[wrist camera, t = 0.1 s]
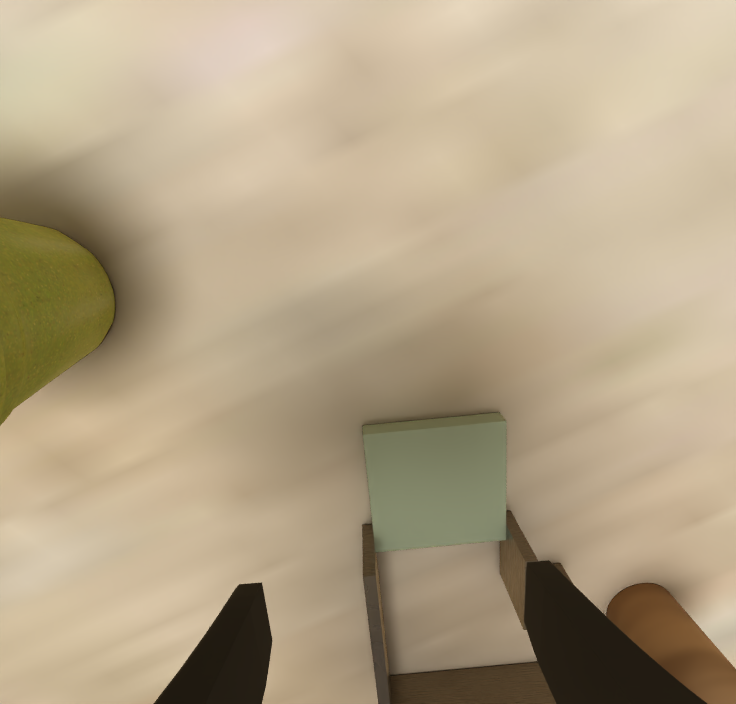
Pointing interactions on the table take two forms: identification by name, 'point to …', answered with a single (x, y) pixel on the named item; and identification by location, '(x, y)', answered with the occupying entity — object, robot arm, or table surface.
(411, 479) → the end pad
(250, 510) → the table surface
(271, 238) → the table surface
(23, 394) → the plant pot
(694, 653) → the peg
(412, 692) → the walled course
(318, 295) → the table surface
